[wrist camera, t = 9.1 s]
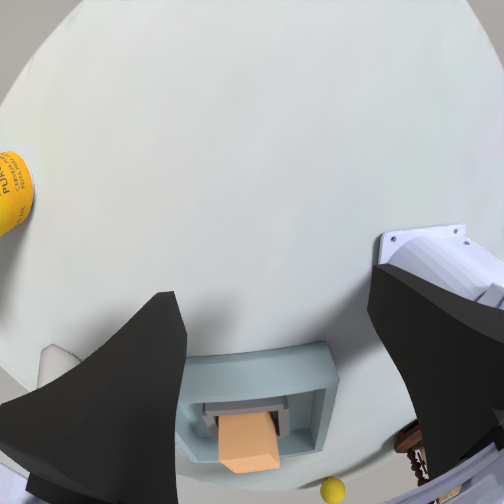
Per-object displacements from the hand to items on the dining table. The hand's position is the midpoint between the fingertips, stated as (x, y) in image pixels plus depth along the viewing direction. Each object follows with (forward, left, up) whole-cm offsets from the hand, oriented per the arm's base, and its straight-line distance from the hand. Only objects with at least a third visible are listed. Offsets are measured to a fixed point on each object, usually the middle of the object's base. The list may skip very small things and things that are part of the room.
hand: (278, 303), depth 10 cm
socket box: (+3, +20, -9) cm, 22 cm away
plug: (+3, +20, -8) cm, 22 cm away
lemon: (-11, +61, -10) cm, 63 cm away
